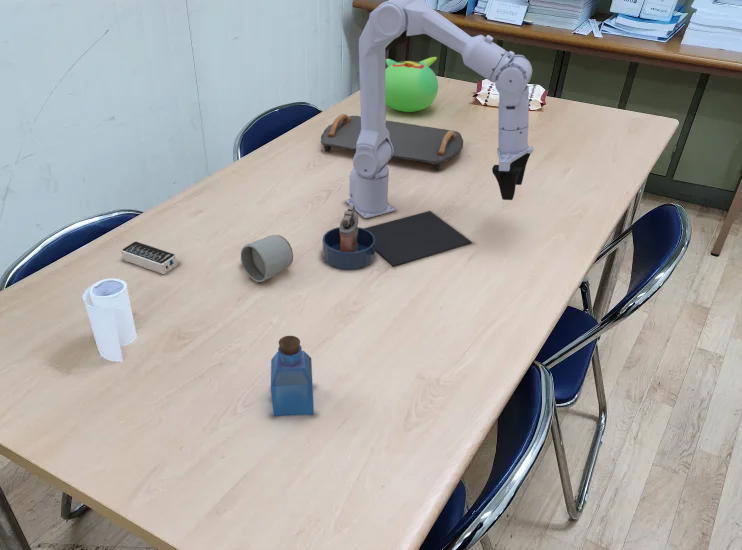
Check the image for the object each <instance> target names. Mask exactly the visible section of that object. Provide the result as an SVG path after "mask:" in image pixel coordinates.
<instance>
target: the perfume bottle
mask: <svg viewBox="0 0 742 550" xmlns="http://www.w3.org/2000/svg"><path fill="white" fill-rule="evenodd" d="M302 348H303V347H302V345H301V339H300V338H299V337H297V336H295V335H285V336H283V337H281V338H280V339H279V340H278V348H277V351H276V353H275V354H274V355H273V356H272V358H271V359H270V395H271V405H272V415H273V417H289V416H291V417H292V416H310V415H313V416H314V414H315V412H314V409H315V408H314V386H313V384H314V383H313V368H312V367H313V366H312V357H311V356H310V355H309V354H308V353H307V352H306V351H305V350H303V349H302Z"/></svg>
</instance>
